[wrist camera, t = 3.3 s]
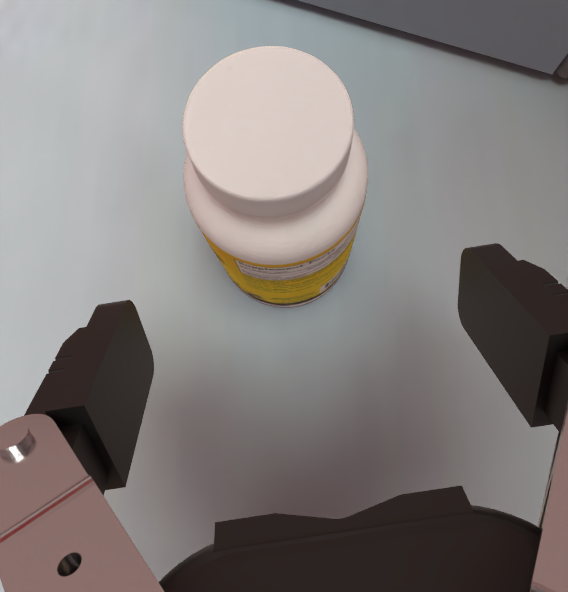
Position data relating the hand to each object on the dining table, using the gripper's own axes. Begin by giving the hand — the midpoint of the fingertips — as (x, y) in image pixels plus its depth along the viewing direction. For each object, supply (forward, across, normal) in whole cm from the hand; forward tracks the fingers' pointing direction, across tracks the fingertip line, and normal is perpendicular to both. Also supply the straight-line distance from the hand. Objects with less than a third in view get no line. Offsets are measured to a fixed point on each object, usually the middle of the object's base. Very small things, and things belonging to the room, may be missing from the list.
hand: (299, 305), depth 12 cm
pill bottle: (+12, 0, +4) cm, 12 cm away
